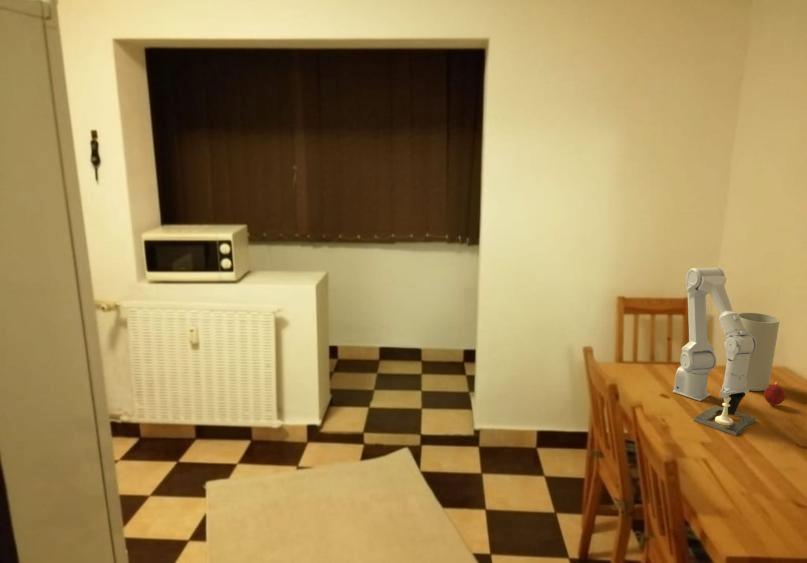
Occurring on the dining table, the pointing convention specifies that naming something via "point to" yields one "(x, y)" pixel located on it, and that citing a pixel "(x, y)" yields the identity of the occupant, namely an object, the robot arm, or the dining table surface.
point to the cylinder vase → (760, 348)
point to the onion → (774, 394)
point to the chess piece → (725, 414)
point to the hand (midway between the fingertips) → (729, 413)
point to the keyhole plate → (733, 429)
